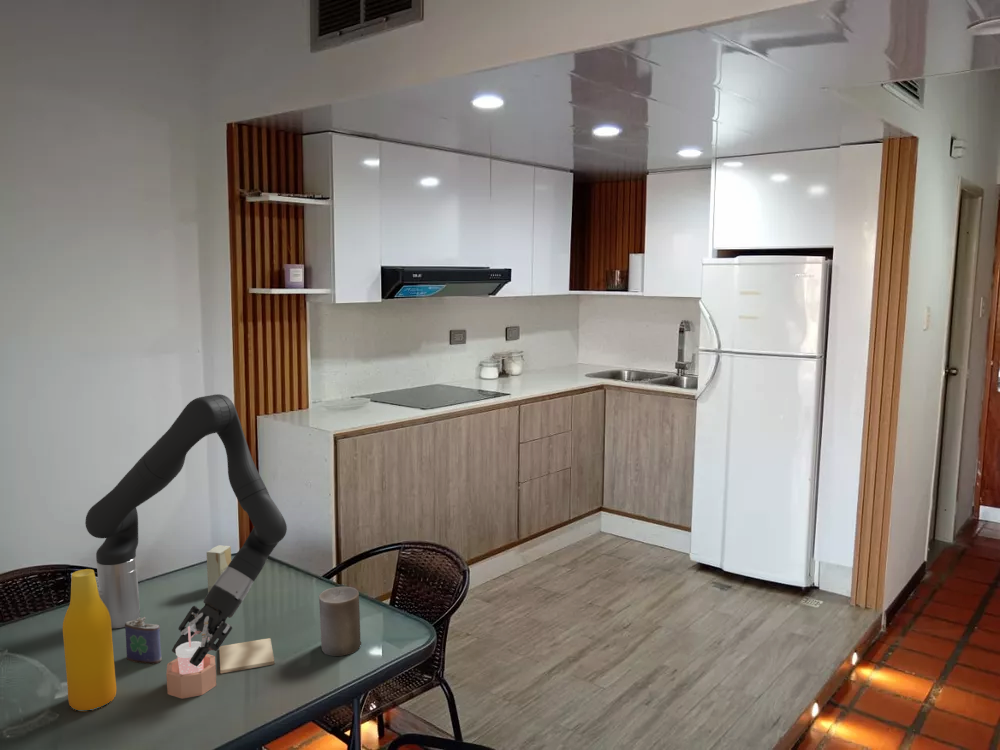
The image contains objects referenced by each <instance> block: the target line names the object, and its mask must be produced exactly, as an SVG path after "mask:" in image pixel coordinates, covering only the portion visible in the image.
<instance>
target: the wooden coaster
mask: <svg viewBox="0 0 1000 750" xmlns="http://www.w3.org/2000/svg"><path fill="white" fill-rule="evenodd" d="M218 650H219V667H220V668H219V670H220V674H225V673H231V672H237V671H238V672H239V671H243V670H244V671H245V670H250V669H254V668H261V667H266V666H273V665H275V657H274V656H275V655H274V651H273V646H272V639H271V638H270V637H269V638H261V639H256V640H250V641H249V640H248V641H244V642H238V643H237V642H236V643H232V644H226V645H221V646H220V647H219V649H218Z"/></svg>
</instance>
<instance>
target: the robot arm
mask: <svg viewBox="0 0 1000 750" xmlns="http://www.w3.org/2000/svg"><path fill="white" fill-rule="evenodd" d="M235 406H236V405H235V404H234V402H233V401H232V400H231V399H230V398H229V397H228V396H226V395H223V394H220V393H219V394H211V395H204V396H200V397H195V398H194V399H193V400H191V401H189V402H188V403H187V404H186V405H185V407H184V408H183V409H182V410H181V412H180V413H179V415H178V417H177V418H176V419H175V420H174V422H173V423H172V425H171V426H169V428H168V430H167V431H166V432H165V433H164V434H163V435H162V436H161V437H160V438H159V439H158V440H157V441H156V442H155V443H154V444H153V445H152V446H150V448H149V449H148V450H146V452H145V453H144V455H142V456H141V457H140V458H139V460H137V462H136V463H135V464H134V465H133V466H132V467H131V469H129V471H128V472H127V473H126V474H125V475H124V476H123V477H122V479H120V481H119V482H118V483H117V484H116V486H115V487H113V488H112V490H110V491H109V492H108V493H107V494H105V496H103V497H102V498H101V499H99V500H98V501H97V502H95V504H93V505H92V506H91V507H90V508H89V509H88V511H87V513H86V515H85V516H86V517H85V523H84V524H85V529H86V531H87V532H88V533H89V535H90V536H92V537H93V538H97V539H105V540H104V541H103V543H102V544H101V545H100V546H99V548H97V550H96V554H95V558H96V569H97V570H96V571H97V581H98V582H97V583H98V584H97V586H98V592H99V596H100V598H101V600H102V601H103V603H104V604H105V606H106V607H107V609H108V611H109V614H110V617H111V628H112V629H120V628H121V629H122V628H125V624H126V622H128V621H133V620H135V621H137V620H136V619H138V618H141V609H140V593H139V582H138V580H139V579H138V567H137V554H136V553H137V547H138V544H139V516H138V510H137V508H138V507H139V506H140V505H142V504H144V503H145V502H146V501H148V500H149V499H151V498H153V497H154V496H156V495H157V494H158V493H160V492H161V491H162V490H164V489H165V488H166V487H167V486H168V485H169V484H171V482H172V481H173V480H174V479H175V478H176V477H177V476H178V475H179V473H180V472H181V471H182V469H183V467H184V464H185V461H186V458H187V457H186V456H187V454H188V452H190V450H191V449H192V448H193V447H194V446H196V444H197V443H198V442H199V441H201V440H202V439H204V437H207V436H209V435H214V434H217V435H218V437H219V439H220V440H221V442H222V444H223V447H224V448H225V454H226V459H227V475H228V480H229V484H230V487H231V489H232V491H233V494H234V495H235V498H236V499H237V501H238V503H239V505H240V507H241V509H243V511H244V512H246V513H247V516H248V518H249V519H250V522H251V524H252V526H253V528H252V530H251V532H249V535H248V536H247V538H246V540H245V542H244V543H243V545H242V546H241V548H240V549H239V550H238V551H237V552H236V553H235V555H234V556H233V558H231V562H230V564H229V565H228V567H227V568H226V569H225V570H224V571H223V573H222V574H221V575H220V576H219V578H218V579H217V581H216V582H215V584H214V585H213V587H212V588H211V590H210V591H209V593H208V592H207V594H206V596H205V598H203V600H202V601H203V604H204V605H203V607H202V608H199V607H197V606H196V605H193V606H192V607H190V609H189V611H188V612H187V614H186V616H185V617H184V619H183V620H182V621H181V623H180V625H179V627H178V631H180V636H179V638H178V639H177V641H176V642H175V644H174V645H173V647H172V649H171V652H172V653H174V654H176V648H177V647H178V646H179V645H181V644H183V643H186V642H189V639H188V626H190V634H191V639H192V638H193V637H195V636H197V635H200V634H201V637H202V639H201V641H200V642H201V647H200V646H199V647H198V649H197V650H196V652H195V653H194V655H193V656H192V658H191V659H190V663H191V664H193V665H195V666H198V665H199V664H200V663H201V662H202V660H203V659H204V657H205V656H206V654H209V652H211V651H215V652H217V651H218V650H219V647H220V646H222V645H223V643H224V642H225V640H226V638H227V637H228V635H229V634H230V632H231V631H232V630H233V626H232V625H231V624H229V623H227V622H226V621H227V619H228V618H232V617H233V616H234V615H235V613H236V612H237V611H238V609H239V607H240V606H241V604H242V602H243V601H244V600H245V598H246V596H247V595H248V593H249V592H250V590H251V588H252V586H253V584H254V582H255V581H256V579H257V578H258V576H259V574H260V573H261V572H262V570H263V568H264V566H265V563H266V561H267V559H268V557H269V556H270V555H271V554H272V553H273V550H275V548H276V547H277V546H278V544H279V542H281V541H282V540H283V539H284V538H285V537H286V535H287V531H288V529H287V528H288V525H287V522H286V519H285V518H284V516H283V514H282V512H281V511H280V510H279V507H278V506H277V505H276V503H275V502H274V501H273V499H272V498H271V495H270V493H269V491H268V488H267V487H266V485H265V483H264V480H263V478H262V477H261V475H260V472H259V471H258V469H257V466H256V464H255V462H254V460H253V456H252V455H251V454H252V453H251V451H250V448H249V445H248V441H247V439H246V437H245V433H244V430H243V426H242V424H241V420H240V418H239V413H238V411H237V408H236V407H235ZM137 622H138V621H137ZM217 639H218V640H217ZM216 640H217V641H216Z"/></svg>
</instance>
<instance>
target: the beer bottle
mask: <svg viewBox="0 0 1000 750" xmlns="http://www.w3.org/2000/svg"><path fill="white" fill-rule="evenodd" d="M97 583H98V582H97V578H96V574H95V570H94V569H91V568H86V569H83V568H82V569H79V570H76V571H73V572H72V573H71V583H70V585H71V586H70V599H69V600H70V601H69V605H68V608H67V610H66V612H65V615H64V617H63V620H62V636H63V648H64V649H63V650H64V662H65V673H66V682H67V685H66V687H67V699H68V704H69V707H70V706H71V707H72V708H74V709H76V710H90V709H94V708H97V707H101V706H103V705H105V704H107V703H109V702H110V701H111V702H112V701H113V700H114V699H115V698H116V695H117V681H116V667H115V658H114V657H115V656H114V645H113V644H114V643H113V630H112V629H113V628H111V617H110V614H109V611H108V609H107V607H106V606H105V604H104V603H103V601H102V600H101V598H100V596H99V592H98V591H99V587H98V584H97ZM114 697H115V698H114ZM111 702H110V703H111ZM110 703H109V704H110ZM107 705H108V704H107ZM71 707H70V708H71ZM72 708H71V709H72ZM101 708H102V707H101ZM74 709H73V710H74ZM76 710H75V711H76Z"/></svg>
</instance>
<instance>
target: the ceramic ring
mask: <svg viewBox="0 0 1000 750" xmlns="http://www.w3.org/2000/svg"><path fill="white" fill-rule="evenodd" d="M216 669H217V667H216V656H215V655H212V654H209V653H207V654H206V656H205V657H204V664H203V670H201V671H199V672H195V673H189V674H183V675H182V674H180V672H179V665H178V657H176V658H175V659H173V660H172V661H171V660H170V662H168V663H167V665H166V672H165V673H166V688H167V690H166V691H167V695H169V696H173V697H176V698H178V699H188V698H193V697H197V696H198V697H199V696H202V695H204V694H206V693H207V692H208V691H210V690H212V689H214V687H217V671H216Z"/></svg>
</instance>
